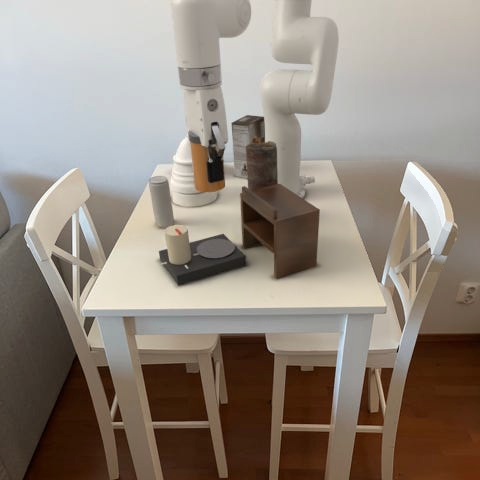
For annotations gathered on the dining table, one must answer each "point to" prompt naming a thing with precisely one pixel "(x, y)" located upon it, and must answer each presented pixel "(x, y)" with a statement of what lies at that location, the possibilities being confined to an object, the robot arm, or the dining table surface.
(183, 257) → the knob
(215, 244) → the pale grey disc
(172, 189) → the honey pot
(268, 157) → the candle
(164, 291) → the dining table surface
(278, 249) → the shelf
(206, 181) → the jar
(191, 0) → the robot arm
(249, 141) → the coffee box
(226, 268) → the hot plate
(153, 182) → the beverage can
